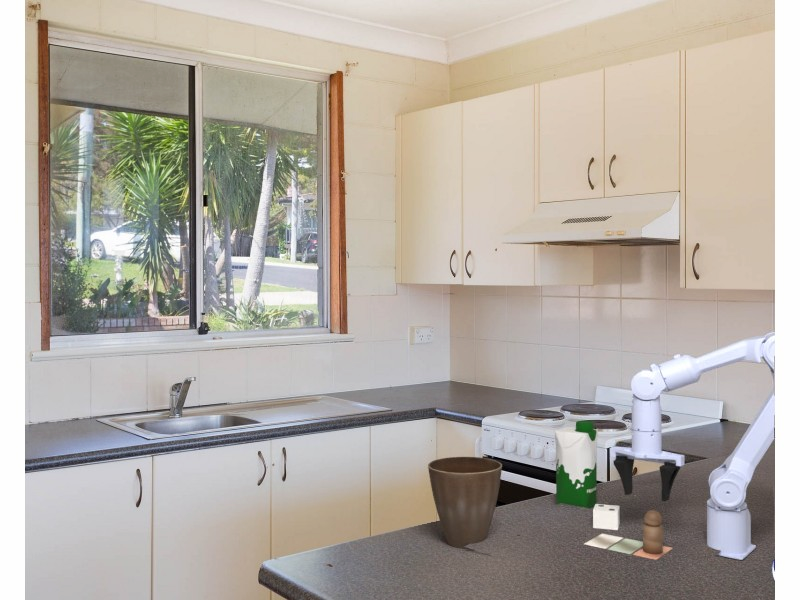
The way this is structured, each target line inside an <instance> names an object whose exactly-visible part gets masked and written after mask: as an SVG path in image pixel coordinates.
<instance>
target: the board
mask: <svg viewBox="0 0 800 600" xmlns="http://www.w3.org/2000/svg"><path fill="white" fill-rule="evenodd" d="M583 545H585V546H586V545H587V546H591V547H596V548H598V549H599V548H600V549H604V550H609V551H614V552H619V553H623V554H628V555H633V556H637V557H643V558H645V559H650V560H658V559H660V558H661V557H662V556H664V555H666V554H667V553H669V551H672V549H673V547H670V546H665V545H663V553H661V554H649V553H646V552H644V551H643V541H640V540H636V539H631V538H624V537H622V536H616V535H611V534H607V533H601V534H599V535H597V536H595V537H593V538H592V539H590V540H588V541H587V542H584V543H583Z"/></svg>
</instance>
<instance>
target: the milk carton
mask: <svg viewBox="0 0 800 600" xmlns="http://www.w3.org/2000/svg"><path fill="white" fill-rule="evenodd" d="M598 436H599V430H598V429H595V427H594V422H593V421H590V420H578V421H575V426H565V427H562V428H559V429H557V430H555V431H554V438H555V440H554V441H555V477H556V478H555V488H556V489H555V490H556V492H555V493H556V495H555V496H556V505H559V504H565V505H570V506H575V507H580V508H587V509H592V507H593V508H594V506H595V504H597V493H598V492H597V486H598V485H597V483H598V482H597V479H598V478H597V476H598V474H597V467H598V465H597V464H598V463H597V459H598V458H597V455H598V454H597V449H598V448H597V446H598V445H597V444H598Z"/></svg>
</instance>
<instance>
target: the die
mask: <svg viewBox="0 0 800 600" xmlns="http://www.w3.org/2000/svg"><path fill="white" fill-rule="evenodd" d="M620 516H621V515H620V505H617V504H615V505H613V504H601V503H596V504H595V505H594V506H593V510H592V517H593V518H592V528H593V529H599V530H601V529H602V530H613V531H618V530H619V528H620V519H621V518H620Z"/></svg>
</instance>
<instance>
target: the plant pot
mask: <svg viewBox="0 0 800 600" xmlns="http://www.w3.org/2000/svg"><path fill="white" fill-rule="evenodd" d="M427 469H428V475H429V482H430V488H431V492H432V496H433V500H434V504H435V508H436V513H437V515H438V520H439V521H440V526H441V528H442V531H443V533H444V536H445V539H446V541H447V543H448V545H450V546H452V547H454V548H457V549H467V546H468V545H471V544H478V543H483V542H484V541H486V539H487V536H488V534H489V531H490V528H491V526H492V525H491V524H492V521H493V519H494V515H495V514H494V513H495V509H496V505H497V501H498V496H499V490H500V485H501V477H502V470H503V464H502V463H501V462H500V461H498V460H495V459H491V458H485V457H478V456H477V457H476V456H452V457H451V456H449V457H443V458H437V459H434V460H432V461H430V462H429V463H428V464H427Z"/></svg>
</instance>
